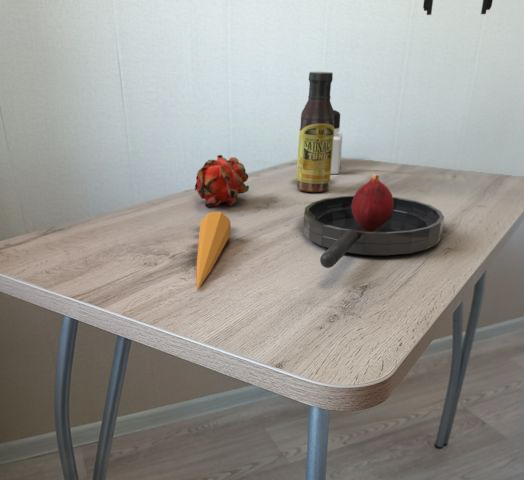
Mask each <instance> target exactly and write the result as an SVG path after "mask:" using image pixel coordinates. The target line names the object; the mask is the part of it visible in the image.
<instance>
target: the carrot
mask: <svg viewBox="0 0 524 480" xmlns="http://www.w3.org/2000/svg"><path fill="white" fill-rule="evenodd" d="M231 228H232V226H231V220H230V218H229V216H226V214H224V213H223V212H222V211H210V212H208V213H207V214H206V215H205V216H204V217H203V218H202V220H200V221H199V232H198V233H199V234H198V246H197V254H196V255H197V257H196V291H198V290H199V289H200V287H201V286H202V284H203V283H204V282H205V280H206V278H207V277H208V276H209V274H210V273H211V272H212V270H213V268H214V266H215V264H216V262H217V260H218V259H219V256H220V255H221V253H222V251H223V249H224V247H225V246H226V244H227V242H228V240H229V239H230V237H231V234H232V229H231Z"/></svg>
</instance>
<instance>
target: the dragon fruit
mask: <svg viewBox="0 0 524 480" xmlns="http://www.w3.org/2000/svg"><path fill="white" fill-rule="evenodd" d="M248 179H249V174H248V173H247V171H246V168H245V165H244V164H243V163H242V162H239V160H238V158H237V157H236V156H235V157H234V156H233V157H230V158H229V159H227V158H226V157H224V156H223V155H222V154H218V155H216V159H207V161H206V162H205V163H204V165H203V166H202V167H200V168H199V169H198V171H197V173H196V179H195V180H196V181H195V185H194V191H196V192H197V194H198V196H199V197H200V198H201V199H202V200H203V199H204V200H205V204H204V207H206V208H208V207H214V206H215V207H218V206H219V205H220V204H222V203H224V202H225V203H226V204H228V205H229V206H233V205H234V204H235V203H237V202H238V200H239V198H238V196H239V195H240V194H245V193H247V192H248V191H249V189H250V186H249V185H246V184H245V183H246V182H247V181H248Z"/></svg>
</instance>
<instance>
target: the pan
mask: <svg viewBox="0 0 524 480" xmlns="http://www.w3.org/2000/svg"><path fill="white" fill-rule="evenodd" d="M354 195H355V194H354ZM354 195H339V196H334V197H327V198H321V199H319V200H315V201H313V202H311V203H310V204H308V205H307V206H305V207H304V212H303V231H302V232H303V233H302V234H303V235H304V236H305V237H306V238H307V239H308V240H309V241H310V242H312V243H314V244H316V245H318V246H320V247H324V248H327V249H329V248H330V247H331V246H332V245H333V244H334V243H335V242H336V241H337V240H338V239H339V238H340V237H341V236H342V235H343V234H344V233H345V232H346V231H348V230H354V231H356V232H357V234H358V240H357V242H356V243H355V244H354V245H353V246H352V247H351V248H350V249H349V250H348V251H347V252H346V253H347V254H353V255H358V256H359V255H361V256H373V257H374V256H375V257H376V256H377V257H381V256H382V257H383V256H386V257H387V256H399V255H406V254H407V255H408V254H413V253H417V252H422V251H425V250H428V249H430V248H432V247H434V246H436V245H439V242H440V240H441V239H442V235H443V234H442V233H443V228H444V222H445V216H444V214H443V212H442V211H441V210H440V209H438V208H436V207H435V206H432V205H431V204H427V203H424V202H421V201H417V200H415V199H408V198H403V197H397V196H392V197H393V201H394V206H393V211H392V214H391V216H390V218H389V219H388V221H387V222H385V223H384V224H383V225H382V226H380V227H379V228H377V229H376V230H374V231H372V232H369V231H366V230H365V229H364V228H363V227H361V226H360V225H359V224H358V223H357V221H356V220H355V218H354V216H353V214H352V209H351V205H352V200H353V198H354ZM346 253H345V254H346Z"/></svg>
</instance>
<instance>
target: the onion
mask: <svg viewBox="0 0 524 480" xmlns="http://www.w3.org/2000/svg"><path fill="white" fill-rule="evenodd" d="M393 197H394V196H393V194H392V192H391V191H390V189H389V188H388V186H387V185H385V184H384V183H383V182H381V180H380V176H379V175H378V174H377V173H374V174H372V175H371V177H370V178H369V181H368V182H366V183H364V184H363V185H362V186H360V187H359V188H358V190H357V191H356V192H355V194H354V198H353V200H352V205H351V209H352V214H353V216H354V218H355V220H356V221H357V223H358V224H359V225H360V226H361V227H363V228H364V229H365V230H366V231H369V232H372V231H374V230H376V229H377V228H379V227H380V226H382V225H383V224H384V223H385V222H387V221H388V219H389V218H390V216H391V214H392V211H393V206H394V201H393Z"/></svg>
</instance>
